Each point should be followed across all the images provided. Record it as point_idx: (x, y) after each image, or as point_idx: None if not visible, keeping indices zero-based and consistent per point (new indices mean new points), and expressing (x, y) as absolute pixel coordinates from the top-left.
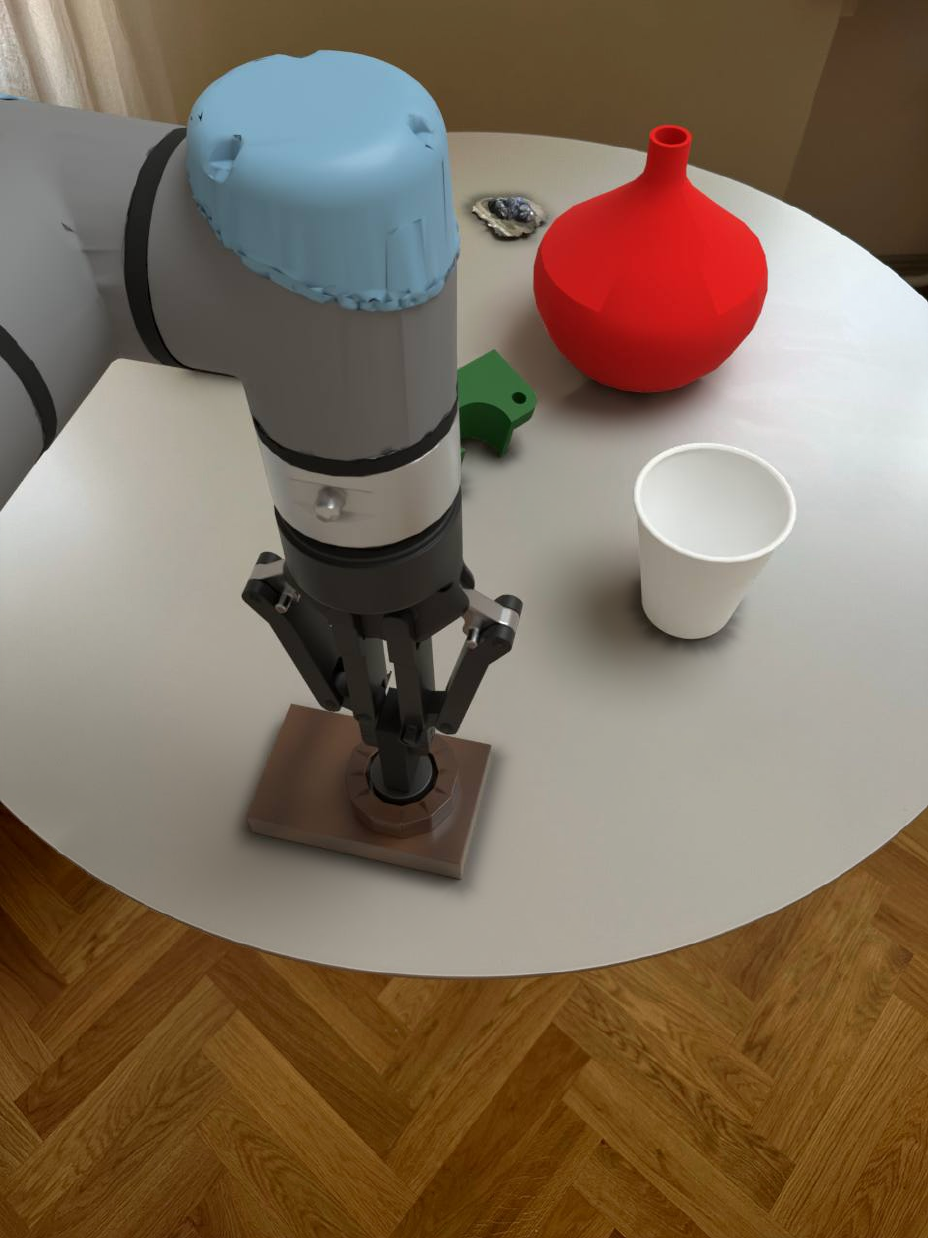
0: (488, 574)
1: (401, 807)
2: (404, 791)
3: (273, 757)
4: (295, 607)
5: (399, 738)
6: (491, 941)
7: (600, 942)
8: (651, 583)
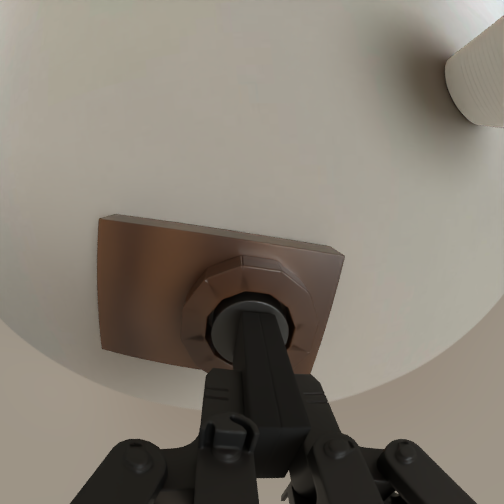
0: (309, 19)
1: None
2: None
3: (100, 289)
4: None
5: (284, 499)
6: None
7: (389, 375)
8: (491, 91)
